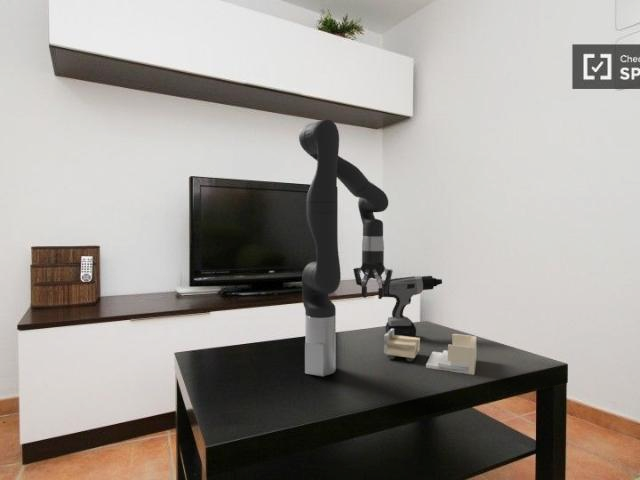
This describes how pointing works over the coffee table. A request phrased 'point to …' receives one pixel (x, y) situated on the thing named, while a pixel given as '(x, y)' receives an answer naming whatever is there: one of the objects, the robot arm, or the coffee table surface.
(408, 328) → the cordless drill
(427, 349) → the coffee table surface
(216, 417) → the coffee table surface
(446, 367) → the dock
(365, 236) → the robot arm
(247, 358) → the coffee table surface
